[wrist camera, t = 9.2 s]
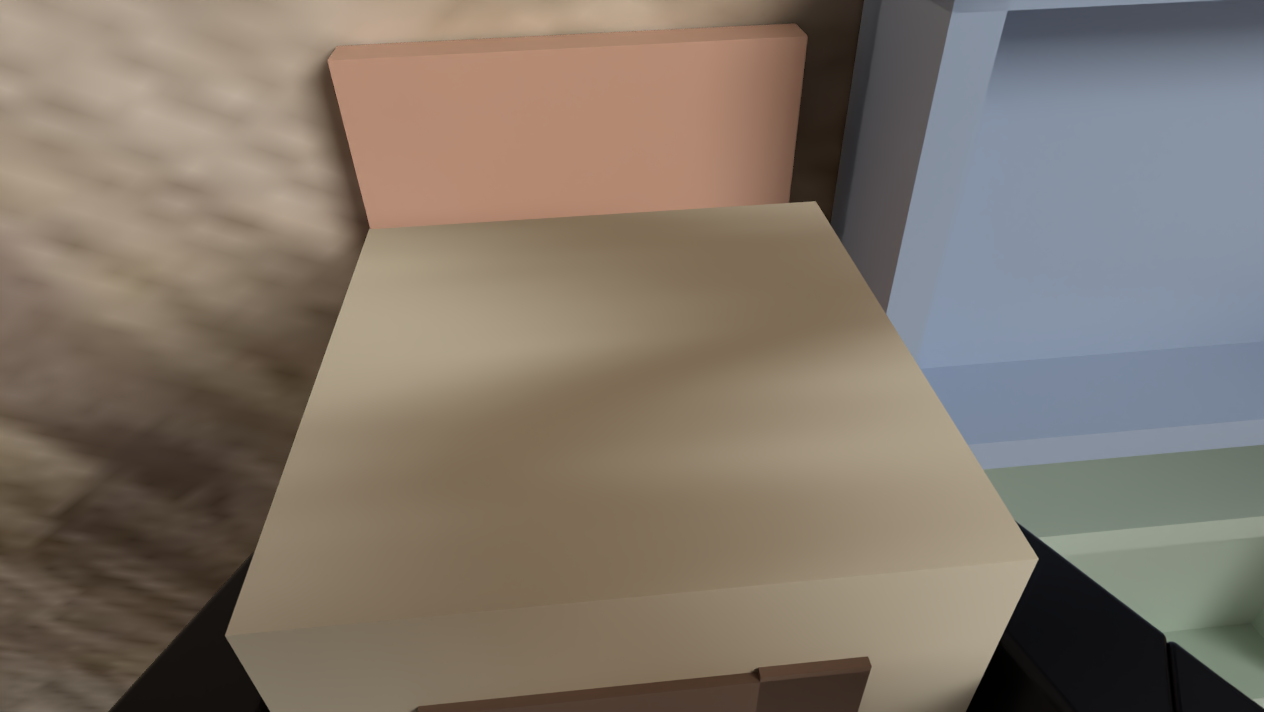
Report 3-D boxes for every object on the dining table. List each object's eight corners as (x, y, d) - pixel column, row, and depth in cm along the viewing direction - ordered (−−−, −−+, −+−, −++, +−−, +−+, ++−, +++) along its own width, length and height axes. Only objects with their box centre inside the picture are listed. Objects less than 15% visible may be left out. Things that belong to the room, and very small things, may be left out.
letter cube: (815, 201, 8) (1044, 569, 4) (774, 498, 11) (894, 875, 7) (368, 229, 8) (220, 647, 4) (445, 528, 10) (395, 933, 7)
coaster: (796, 23, 10) (807, 35, 10) (759, 372, 14) (767, 394, 14) (337, 46, 10) (327, 61, 10) (423, 398, 14) (419, 422, 13)
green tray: (1413, 401, 16) (1533, 490, 14) (1244, 614, 21) (1318, 703, 19) (794, 455, 15) (833, 557, 13) (763, 664, 20) (788, 762, 18)
